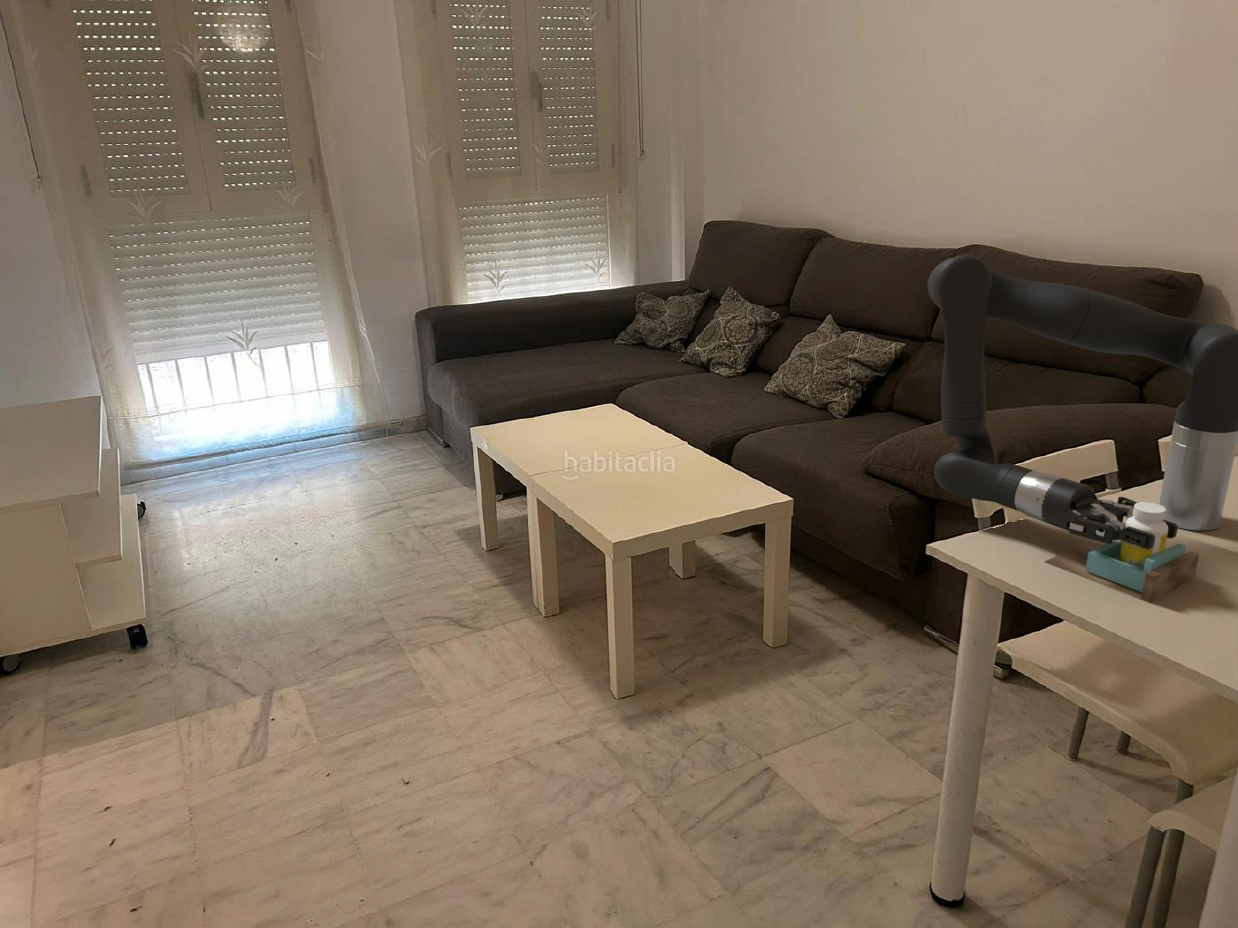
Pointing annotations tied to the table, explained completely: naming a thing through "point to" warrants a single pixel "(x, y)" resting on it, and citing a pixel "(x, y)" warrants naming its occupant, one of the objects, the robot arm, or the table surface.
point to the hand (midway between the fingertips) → (1164, 537)
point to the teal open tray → (1125, 574)
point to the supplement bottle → (1148, 521)
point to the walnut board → (1155, 580)
